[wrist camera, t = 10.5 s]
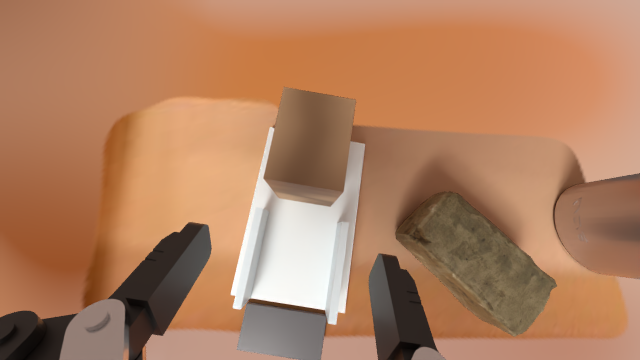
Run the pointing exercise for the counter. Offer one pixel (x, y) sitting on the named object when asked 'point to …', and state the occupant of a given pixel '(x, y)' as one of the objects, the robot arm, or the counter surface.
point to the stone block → (476, 262)
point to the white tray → (295, 265)
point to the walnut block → (310, 147)
